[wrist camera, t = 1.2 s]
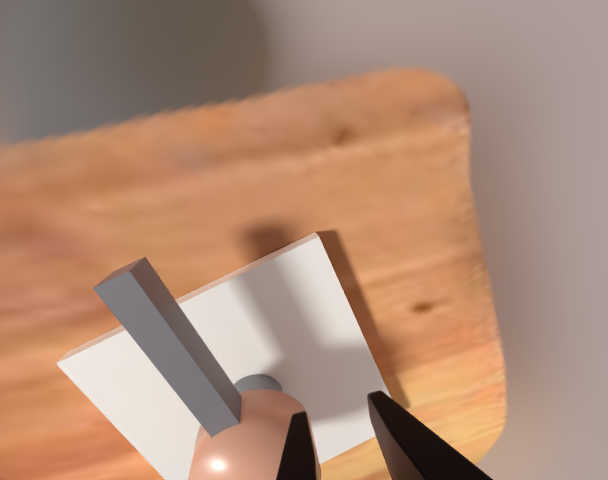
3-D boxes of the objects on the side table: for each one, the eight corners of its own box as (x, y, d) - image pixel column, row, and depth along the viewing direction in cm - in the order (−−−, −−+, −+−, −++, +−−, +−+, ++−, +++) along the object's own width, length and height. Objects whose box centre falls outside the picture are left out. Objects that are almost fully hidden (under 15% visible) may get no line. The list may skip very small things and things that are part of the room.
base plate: (395, 410, 25) (420, 455, 21) (208, 505, 24) (199, 570, 20) (315, 232, 19) (330, 249, 15) (68, 351, 18) (20, 400, 15)
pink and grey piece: (327, 445, 19) (339, 495, 16) (231, 494, 19) (227, 554, 16) (198, 230, 14) (184, 248, 11) (64, 293, 13) (13, 330, 11)
